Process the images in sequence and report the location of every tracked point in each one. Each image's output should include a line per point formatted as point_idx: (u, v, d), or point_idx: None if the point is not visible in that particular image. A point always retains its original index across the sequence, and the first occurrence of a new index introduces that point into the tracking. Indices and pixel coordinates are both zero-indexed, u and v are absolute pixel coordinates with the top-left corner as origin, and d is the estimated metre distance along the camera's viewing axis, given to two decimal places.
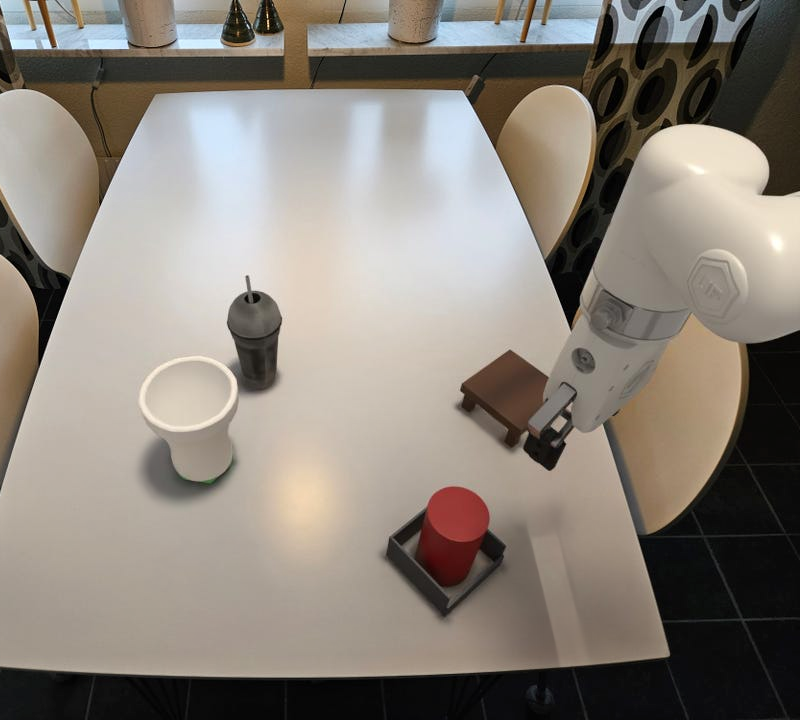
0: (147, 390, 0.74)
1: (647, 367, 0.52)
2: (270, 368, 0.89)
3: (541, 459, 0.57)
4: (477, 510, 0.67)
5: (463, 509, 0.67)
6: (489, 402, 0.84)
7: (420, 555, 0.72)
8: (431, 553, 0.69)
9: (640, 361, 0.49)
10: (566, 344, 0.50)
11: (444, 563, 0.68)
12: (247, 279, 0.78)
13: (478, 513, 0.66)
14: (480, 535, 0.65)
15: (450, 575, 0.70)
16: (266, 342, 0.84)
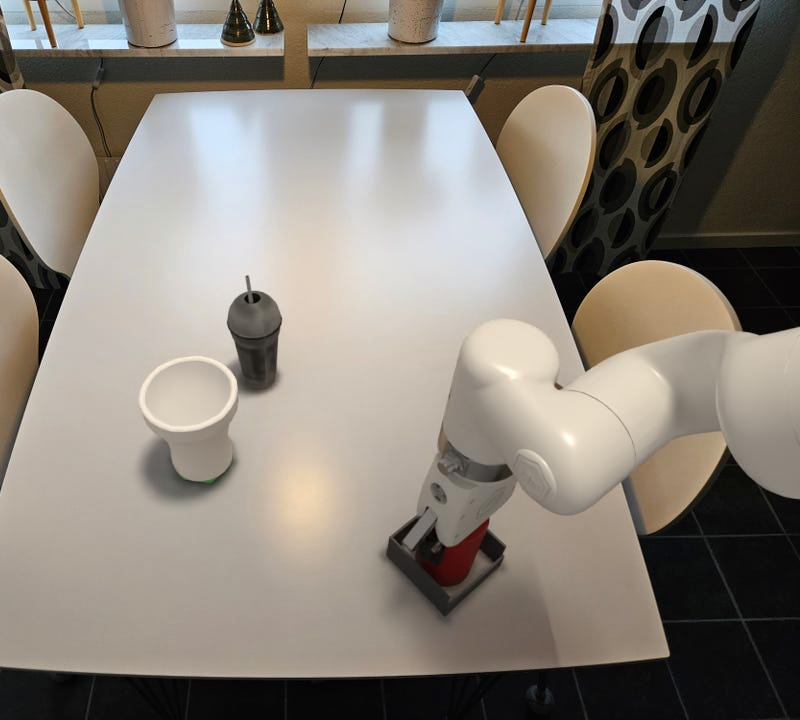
0: (147, 390, 0.74)
1: (500, 492, 0.61)
2: (270, 368, 0.89)
3: (427, 559, 0.67)
4: None
5: None
6: None
7: None
8: None
9: (487, 493, 0.58)
10: (426, 477, 0.59)
11: (444, 563, 0.68)
12: (247, 279, 0.78)
13: None
14: (480, 535, 0.65)
15: (450, 575, 0.70)
16: (266, 342, 0.84)
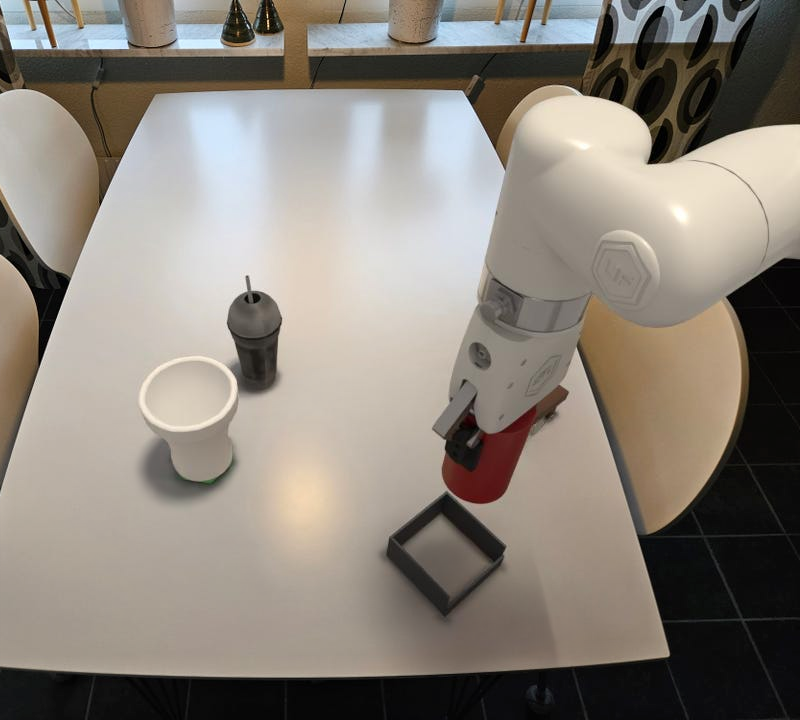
0: (147, 390, 0.74)
1: (555, 362, 0.49)
2: (270, 368, 0.89)
3: (460, 460, 0.54)
4: None
5: None
6: None
7: (449, 464, 0.59)
8: None
9: (541, 355, 0.45)
10: (463, 338, 0.47)
11: (480, 468, 0.56)
12: (247, 279, 0.78)
13: None
14: (526, 426, 0.52)
15: (487, 486, 0.58)
16: (266, 342, 0.84)
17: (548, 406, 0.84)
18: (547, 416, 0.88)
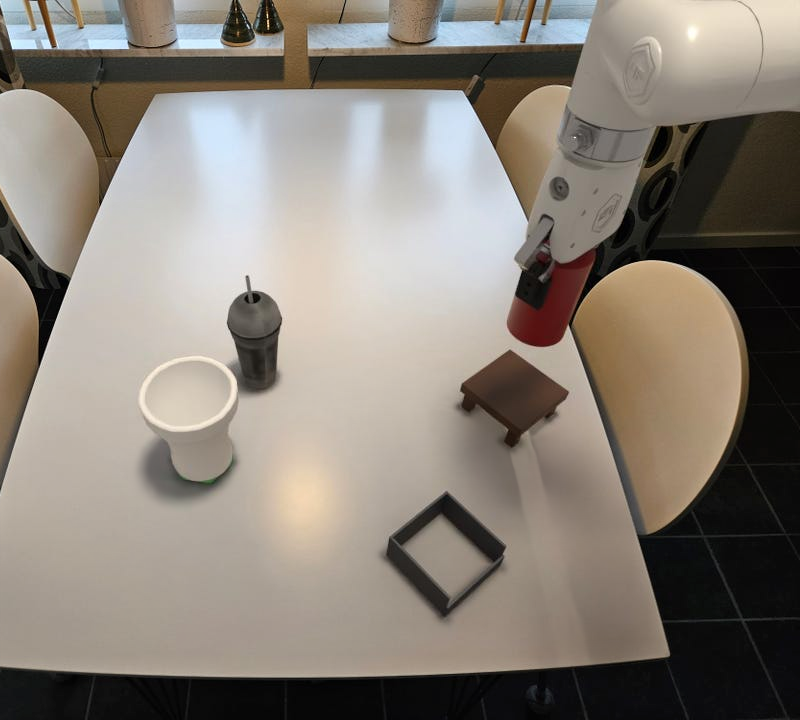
0: (147, 390, 0.74)
1: (616, 203, 0.59)
2: (270, 368, 0.89)
3: (531, 297, 0.65)
4: None
5: None
6: (489, 402, 0.84)
7: (516, 312, 0.70)
8: None
9: (608, 189, 0.56)
10: (544, 177, 0.57)
11: (545, 308, 0.67)
12: (247, 279, 0.78)
13: None
14: (588, 265, 0.63)
15: (549, 327, 0.69)
16: (266, 342, 0.84)
17: (548, 406, 0.84)
18: (547, 416, 0.88)
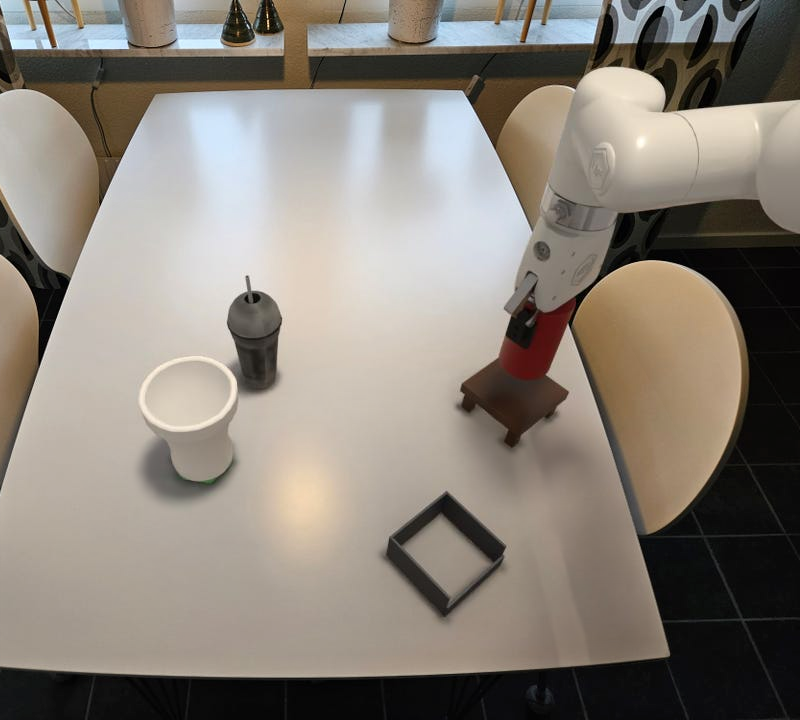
0: (147, 390, 0.74)
1: (592, 261, 0.68)
2: (270, 368, 0.89)
3: (519, 339, 0.74)
4: None
5: None
6: (489, 402, 0.84)
7: (506, 349, 0.79)
8: None
9: (584, 251, 0.65)
10: (529, 240, 0.66)
11: (532, 347, 0.76)
12: (247, 279, 0.78)
13: None
14: (568, 312, 0.72)
15: (535, 363, 0.78)
16: (266, 342, 0.84)
17: (548, 406, 0.84)
18: (547, 416, 0.88)
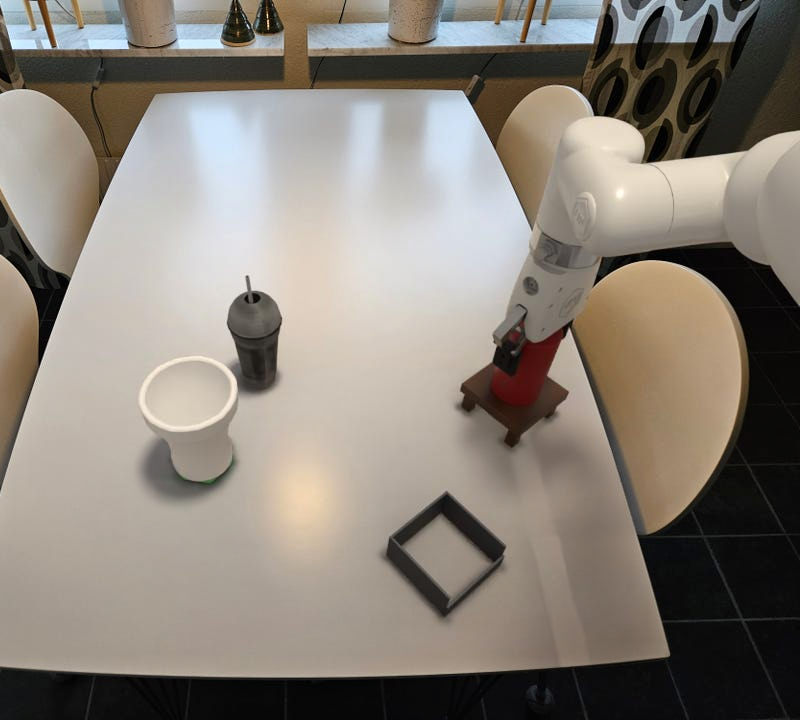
0: (147, 390, 0.74)
1: (579, 294, 0.72)
2: (270, 368, 0.89)
3: (505, 367, 0.76)
4: None
5: None
6: (489, 402, 0.84)
7: (498, 376, 0.83)
8: None
9: (571, 286, 0.69)
10: (519, 275, 0.70)
11: (522, 376, 0.80)
12: (247, 279, 0.78)
13: None
14: (556, 343, 0.76)
15: (525, 391, 0.81)
16: (266, 342, 0.84)
17: (548, 406, 0.84)
18: (547, 416, 0.88)
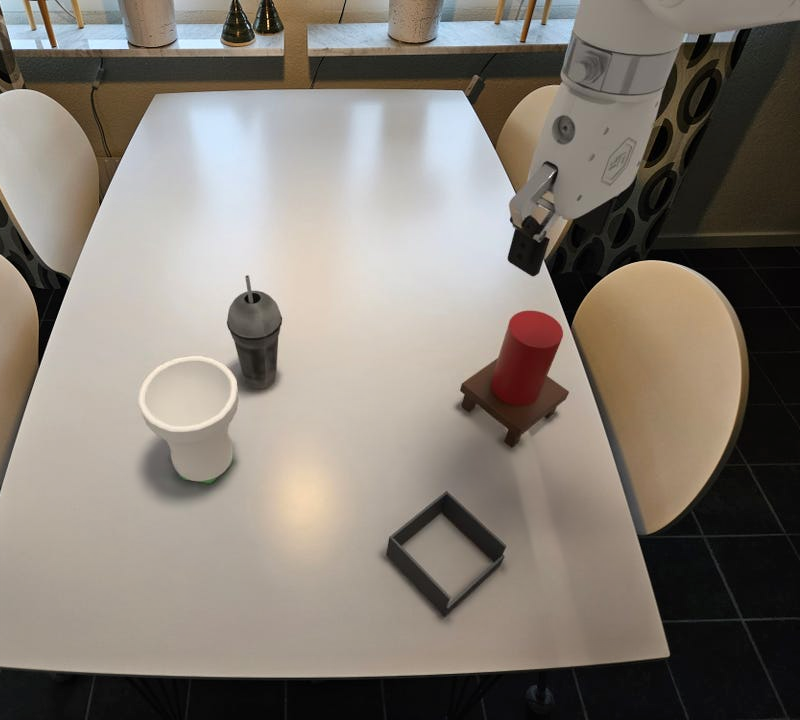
0: (147, 390, 0.74)
1: (629, 151, 0.52)
2: (270, 368, 0.89)
3: (525, 261, 0.57)
4: (552, 327, 0.78)
5: (539, 325, 0.78)
6: (489, 402, 0.84)
7: (498, 376, 0.83)
8: (511, 367, 0.80)
9: (621, 130, 0.49)
10: (547, 118, 0.50)
11: (522, 376, 0.80)
12: (247, 279, 0.78)
13: (553, 328, 0.78)
14: (556, 343, 0.76)
15: (525, 391, 0.81)
16: (266, 342, 0.84)
17: (548, 406, 0.84)
18: (547, 416, 0.88)
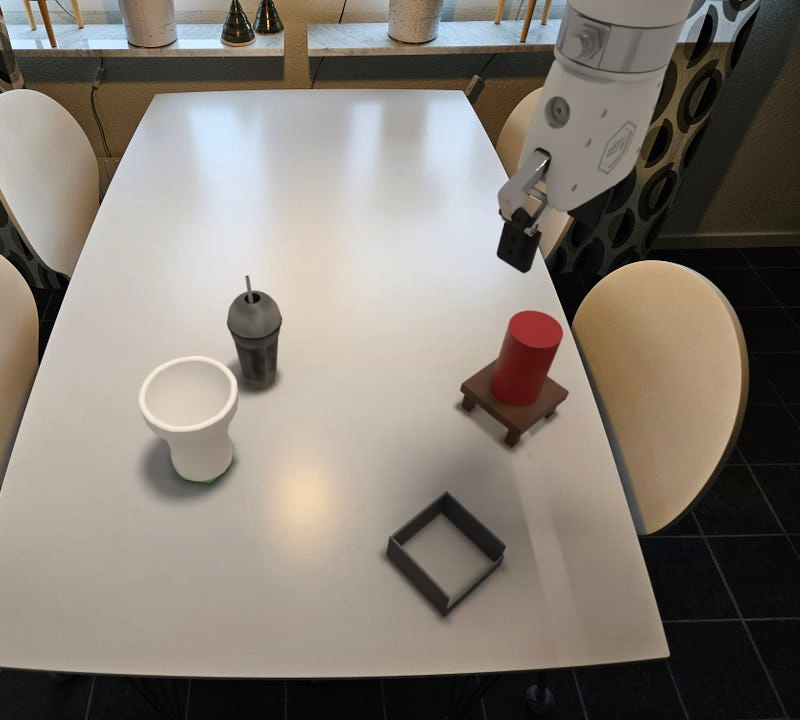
0: (147, 390, 0.74)
1: (629, 136, 0.47)
2: (270, 368, 0.89)
3: (515, 257, 0.52)
4: (552, 327, 0.78)
5: (539, 325, 0.78)
6: (489, 402, 0.84)
7: (498, 376, 0.83)
8: (511, 367, 0.80)
9: (620, 113, 0.44)
10: (539, 100, 0.45)
11: (522, 376, 0.80)
12: (247, 279, 0.78)
13: (553, 328, 0.78)
14: (556, 343, 0.76)
15: (525, 391, 0.81)
16: (266, 342, 0.84)
17: (548, 406, 0.84)
18: (547, 416, 0.88)
